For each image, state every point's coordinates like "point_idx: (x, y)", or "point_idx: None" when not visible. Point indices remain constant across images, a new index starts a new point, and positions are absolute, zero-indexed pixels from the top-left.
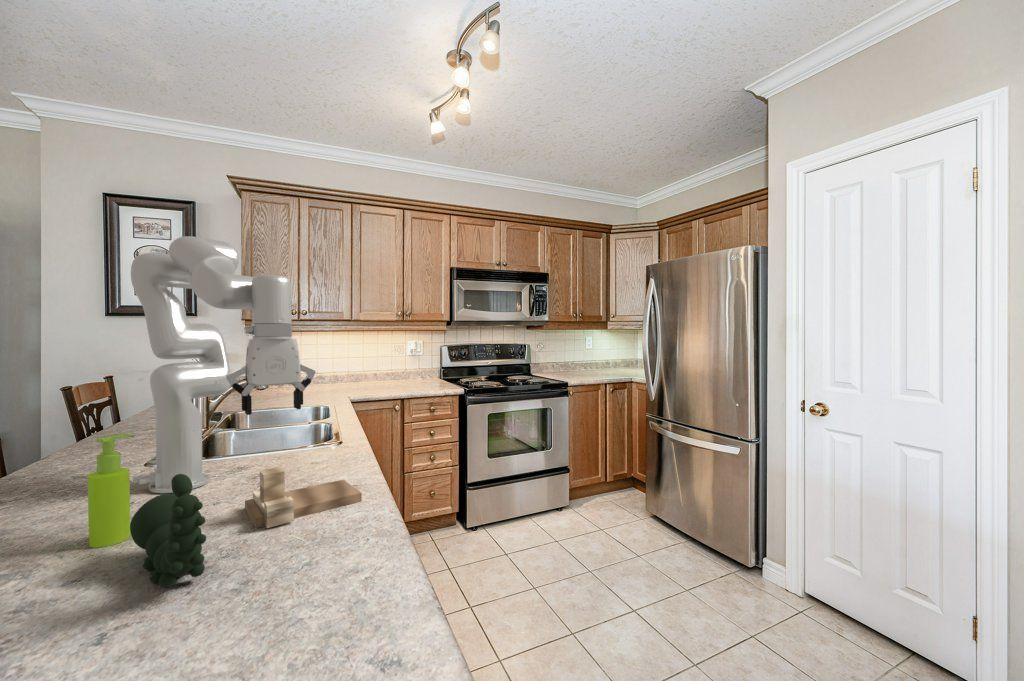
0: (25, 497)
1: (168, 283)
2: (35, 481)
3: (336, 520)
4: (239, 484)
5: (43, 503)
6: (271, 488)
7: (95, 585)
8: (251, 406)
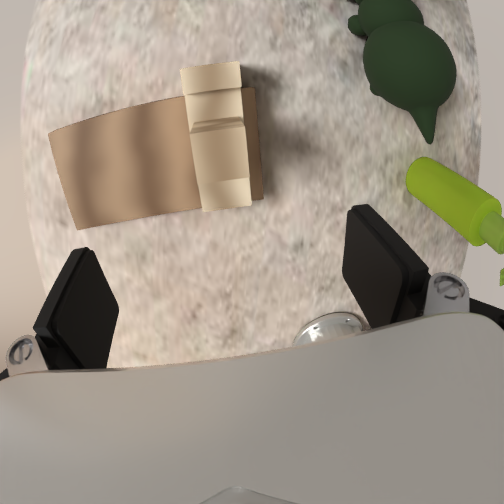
0: None
1: None
2: None
3: (110, 51)
4: (257, 314)
5: None
6: (223, 122)
7: None
8: (368, 230)
